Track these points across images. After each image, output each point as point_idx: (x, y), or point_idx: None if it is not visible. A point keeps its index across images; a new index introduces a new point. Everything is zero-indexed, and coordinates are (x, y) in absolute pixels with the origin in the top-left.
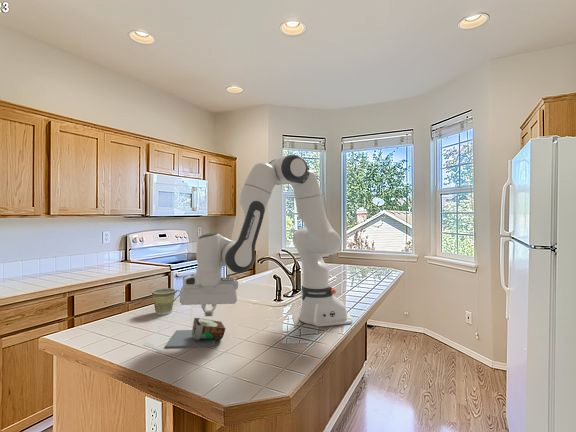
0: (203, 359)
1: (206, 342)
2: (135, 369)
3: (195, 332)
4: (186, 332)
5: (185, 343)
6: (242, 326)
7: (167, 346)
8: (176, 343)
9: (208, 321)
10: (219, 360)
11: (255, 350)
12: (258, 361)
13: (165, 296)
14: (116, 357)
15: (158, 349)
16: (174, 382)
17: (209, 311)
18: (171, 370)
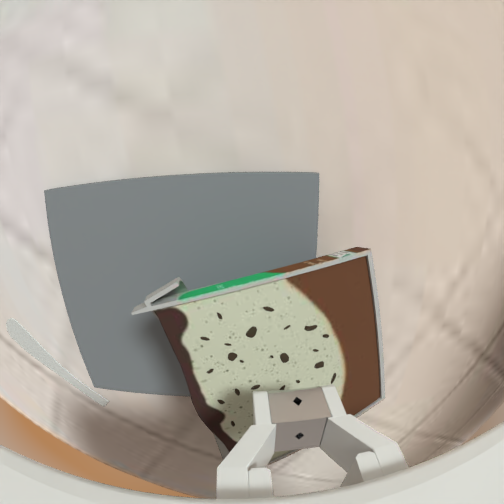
0: None
1: None
2: (109, 463)
3: (219, 443)
4: (108, 229)
5: (165, 376)
6: (442, 121)
7: (104, 388)
8: (124, 370)
9: (274, 334)
10: (324, 452)
11: (437, 389)
12: (418, 435)
13: None
14: (19, 402)
15: (83, 388)
16: None
17: (305, 441)
18: (200, 480)
